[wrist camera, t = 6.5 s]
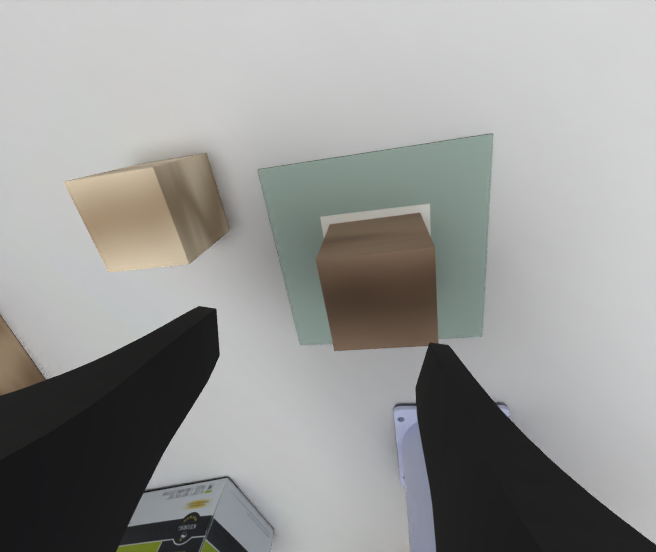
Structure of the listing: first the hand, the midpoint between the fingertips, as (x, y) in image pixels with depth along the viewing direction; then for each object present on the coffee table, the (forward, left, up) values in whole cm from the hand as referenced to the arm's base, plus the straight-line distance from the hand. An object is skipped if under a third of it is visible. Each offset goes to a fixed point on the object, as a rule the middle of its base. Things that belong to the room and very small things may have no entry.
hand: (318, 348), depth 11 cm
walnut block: (-1, -2, -9) cm, 9 cm away
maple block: (+4, +9, -10) cm, 14 cm away
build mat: (-1, -2, -10) cm, 10 cm away
